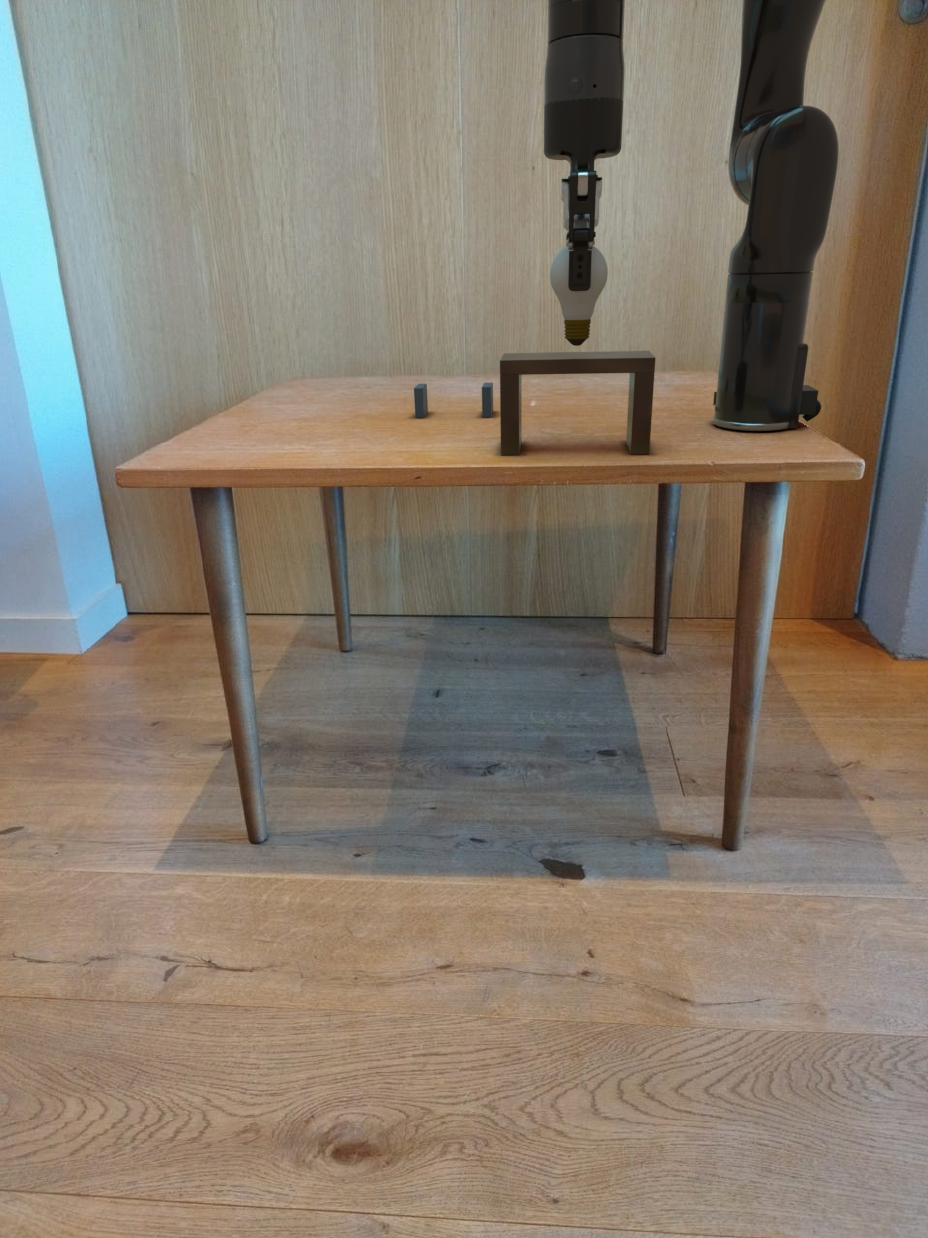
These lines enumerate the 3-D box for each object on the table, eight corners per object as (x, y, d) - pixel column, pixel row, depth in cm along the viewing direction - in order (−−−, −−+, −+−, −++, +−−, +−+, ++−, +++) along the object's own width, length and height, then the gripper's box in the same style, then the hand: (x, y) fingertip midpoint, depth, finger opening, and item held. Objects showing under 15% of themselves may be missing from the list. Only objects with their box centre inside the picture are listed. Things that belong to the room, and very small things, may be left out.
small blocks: (493, 411, 114) (492, 382, 112) (491, 417, 110) (490, 386, 109) (419, 412, 115) (418, 383, 114) (415, 417, 112) (413, 387, 110)
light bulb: (577, 349, 83) (580, 241, 79) (537, 346, 88) (538, 243, 84) (616, 344, 87) (621, 240, 83) (576, 341, 91) (578, 242, 87)
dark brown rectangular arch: (643, 441, 94) (649, 350, 90) (649, 454, 88) (655, 357, 84) (504, 442, 95) (503, 353, 91) (500, 455, 90) (499, 360, 86)
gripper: (629, 84, 71) (619, 291, 78) (618, 109, 84) (611, 285, 91) (542, 88, 72) (540, 293, 79) (545, 113, 85) (543, 287, 92)
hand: (578, 288), depth 85 cm, fingers closed on light bulb, 6 cm apart
